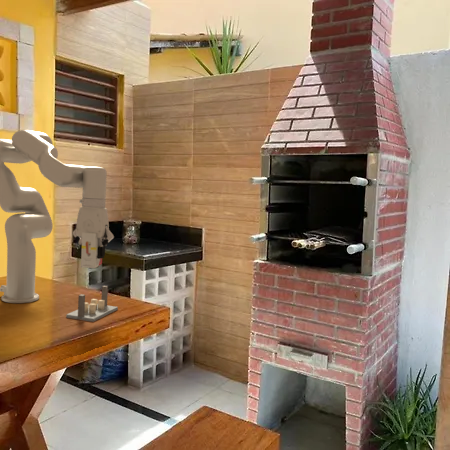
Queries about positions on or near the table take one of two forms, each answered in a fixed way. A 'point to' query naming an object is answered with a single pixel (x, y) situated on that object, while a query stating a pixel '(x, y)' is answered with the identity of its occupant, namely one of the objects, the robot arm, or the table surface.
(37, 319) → the table surface
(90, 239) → the ink box
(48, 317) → the table surface
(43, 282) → the table surface
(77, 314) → the peg stand
